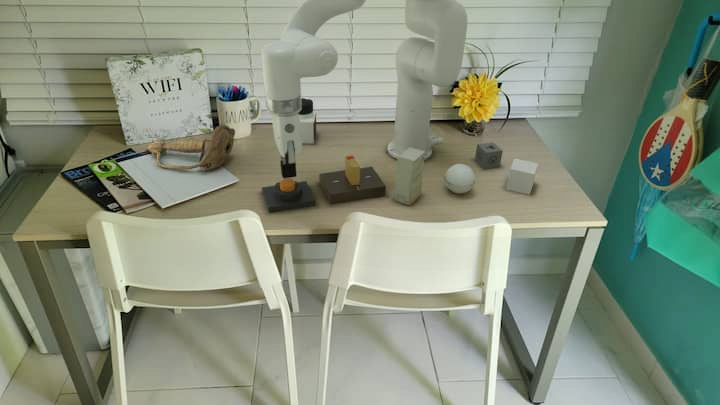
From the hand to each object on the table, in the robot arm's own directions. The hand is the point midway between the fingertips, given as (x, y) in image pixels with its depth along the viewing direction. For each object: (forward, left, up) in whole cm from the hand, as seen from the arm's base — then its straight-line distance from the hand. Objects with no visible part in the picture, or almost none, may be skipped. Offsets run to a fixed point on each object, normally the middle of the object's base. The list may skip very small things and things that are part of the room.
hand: (289, 175), depth 119 cm
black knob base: (0, 0, -6) cm, 6 cm away
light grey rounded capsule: (-41, +9, -7) cm, 42 cm away
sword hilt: (+22, -27, -7) cm, 36 cm away
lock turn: (-16, 0, -3) cm, 16 cm away
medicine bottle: (-11, -31, -7) cm, 33 cm away
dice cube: (-56, -3, -7) cm, 56 cm away
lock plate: (-16, 0, -6) cm, 17 cm away
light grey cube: (-58, +10, -7) cm, 59 cm away
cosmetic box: (-28, +7, -7) cm, 29 cm away
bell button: (0, 0, -3) cm, 3 cm away
